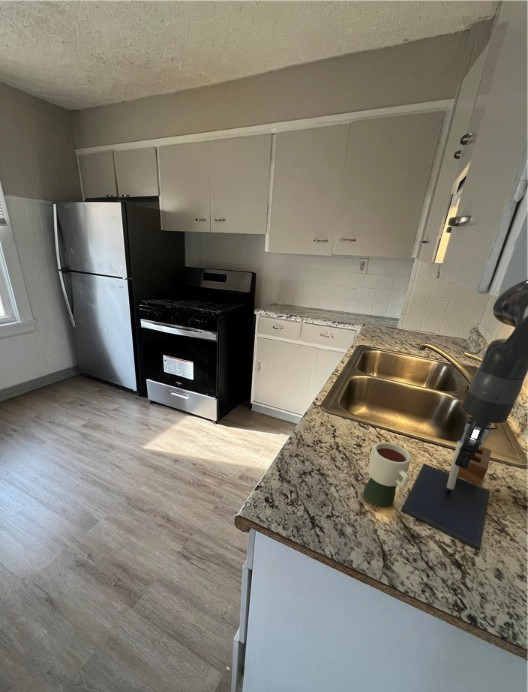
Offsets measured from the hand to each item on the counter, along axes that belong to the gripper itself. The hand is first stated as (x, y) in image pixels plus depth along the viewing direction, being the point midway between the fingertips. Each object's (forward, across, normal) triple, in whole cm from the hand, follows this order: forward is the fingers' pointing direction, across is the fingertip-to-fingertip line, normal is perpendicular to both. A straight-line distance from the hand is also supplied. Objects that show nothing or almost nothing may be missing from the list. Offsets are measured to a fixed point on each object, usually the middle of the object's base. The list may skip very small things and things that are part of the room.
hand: (461, 463), depth 68 cm
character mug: (+9, -13, +12) cm, 20 cm away
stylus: (+8, 0, 0) cm, 8 cm away
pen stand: (+9, +14, -2) cm, 16 cm away
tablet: (+9, -3, 0) cm, 9 cm away
